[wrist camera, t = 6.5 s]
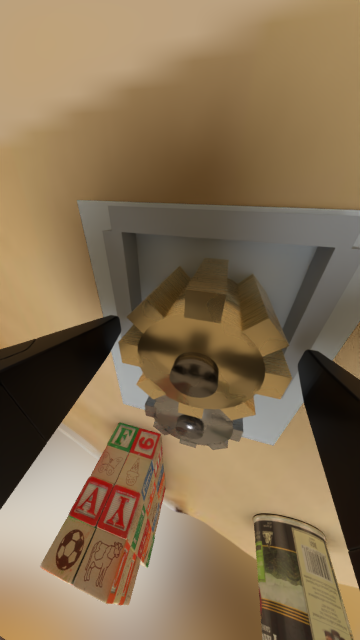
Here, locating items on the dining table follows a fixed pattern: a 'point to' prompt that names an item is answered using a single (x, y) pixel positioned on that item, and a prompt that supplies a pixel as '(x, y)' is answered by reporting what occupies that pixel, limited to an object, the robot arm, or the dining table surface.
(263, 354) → the brass gear
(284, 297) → the gear board
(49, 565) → the stack of blocks
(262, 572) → the coffee can
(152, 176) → the dining table surface
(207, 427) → the gear
